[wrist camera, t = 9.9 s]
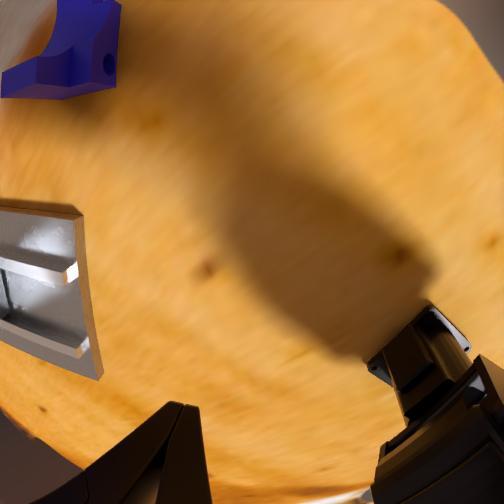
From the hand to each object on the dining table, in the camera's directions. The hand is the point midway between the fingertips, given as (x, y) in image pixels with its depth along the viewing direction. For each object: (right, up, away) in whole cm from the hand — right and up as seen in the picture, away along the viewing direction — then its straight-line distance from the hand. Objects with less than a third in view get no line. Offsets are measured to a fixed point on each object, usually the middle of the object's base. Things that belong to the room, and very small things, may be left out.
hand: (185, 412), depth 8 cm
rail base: (-20, +2, +14) cm, 24 cm away
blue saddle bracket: (-9, +20, +7) cm, 23 cm away
